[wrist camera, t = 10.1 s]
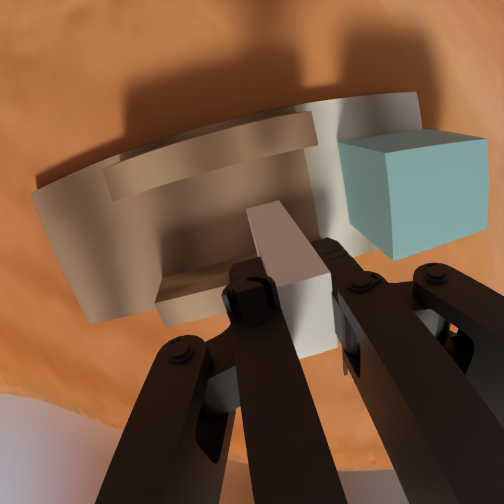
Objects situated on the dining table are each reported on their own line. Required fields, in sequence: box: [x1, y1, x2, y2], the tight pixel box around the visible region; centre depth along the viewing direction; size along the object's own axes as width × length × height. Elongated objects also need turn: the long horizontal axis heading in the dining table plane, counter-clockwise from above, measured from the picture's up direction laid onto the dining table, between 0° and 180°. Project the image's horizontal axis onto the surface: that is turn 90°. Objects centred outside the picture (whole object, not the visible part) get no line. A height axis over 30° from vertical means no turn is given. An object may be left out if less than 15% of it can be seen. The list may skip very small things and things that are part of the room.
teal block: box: [337, 129, 489, 261], centre depth 18 cm, size 8×6×6 cm
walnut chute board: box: [31, 92, 423, 327], centre depth 20 cm, size 30×12×4 cm, turn 103°
